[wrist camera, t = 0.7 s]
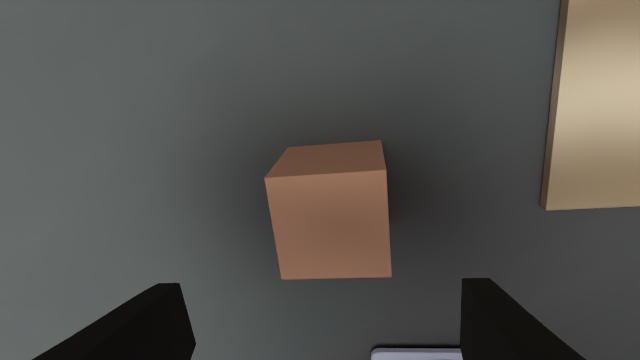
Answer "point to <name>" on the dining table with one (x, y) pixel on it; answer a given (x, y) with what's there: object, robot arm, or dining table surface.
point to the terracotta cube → (331, 211)
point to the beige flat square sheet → (594, 108)
